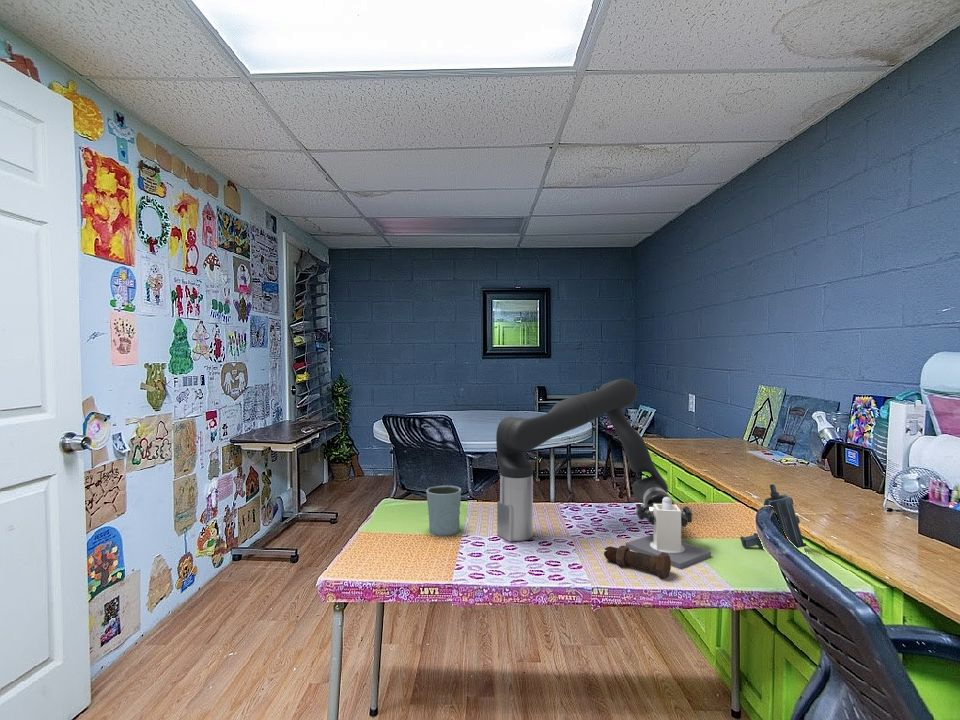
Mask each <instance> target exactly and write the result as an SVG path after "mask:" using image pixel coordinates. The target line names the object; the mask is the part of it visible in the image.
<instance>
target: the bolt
mask: <svg viewBox="0 0 960 720" xmlns="http://www.w3.org/2000/svg"><path fill="white" fill-rule="evenodd" d="M603 555H604V557H605V559H606V560H609V561H612V562H616V564H617V565H618V566H619V567H623V568H625V567H628V566H634V567H637V568H641V569H646V570H648V571H649V570H650V571H652V572H656V573H657V577H658V578H660V579H662V580H663V579H666V578H668V577H669V575H670V572H671V568H672V566H671V560H670V556H669V555H668V553H665V552H662V553H661V554H659V555H658V556H652V555H647V554H643V553H638V552H636V551H633V550H631V549H629V548H628V546H626V545H623V544H622V545H620V546H618V547H615V546H611V545H610V546H606V547H604V551H603Z"/></svg>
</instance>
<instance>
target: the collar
mask: <svg viewBox="0 0 960 720" xmlns="http://www.w3.org/2000/svg"><path fill="white" fill-rule="evenodd" d="M680 509H681V508H680V507H678V505H677V504H674V505H672V510H662V504H653V515H654V518H655V524H654V525H652V528H653V529H652V532H653V533H652V535H653V542H654V544H655V546H656V549H657V550H671V551H681V542H682V525H681V510H680Z"/></svg>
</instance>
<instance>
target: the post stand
mask: <svg viewBox="0 0 960 720" xmlns="http://www.w3.org/2000/svg"><path fill="white" fill-rule="evenodd" d="M671 499H672V498H671V497H670V498H669V497H664V498H663V500H662V510H672V501H673V500H671ZM625 546H628V548H629V549H630V551H634V552H638V553H643V554H647V555H652V556H658V555H659V554H661V553H662V552H665V553H668V555H669V556H670V560H671V567H674V568H676V569H680V570H681V569H683V568H686V567H688V566H690V565H693V564H696V563H698V562H700V561H701V562H702V561H703V560H705V559H709V558H711V557H712V552H711V551H709V550H707V549H703V548H701V547H699V546H695V545H692V544H689V543H687V542H683V541H681V551H671V550H657V549H656V546H655V544H654V542H653V534H650V535H647V536H644V537H640V538H637V539H634V540H631V541H627V542H625Z"/></svg>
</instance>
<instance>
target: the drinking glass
mask: <svg viewBox="0 0 960 720" xmlns="http://www.w3.org/2000/svg"><path fill="white" fill-rule="evenodd" d="M425 491H426V500H427V511H428V513H427V515H428V522H429V525H428V526H429V528H428V529H429V532H430V533H431V534H432V535H433V536H438V537H440V536H441V537H447V536H454V535H456V534H458V533H459V531H460V527H461V526H460V515H461V509H460V508H461V502H462V501H461V500H462V498H461V497H462V488H461V487H459V486H457V485H436V486H431V487H428V488H427V489H426V490H425Z"/></svg>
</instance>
